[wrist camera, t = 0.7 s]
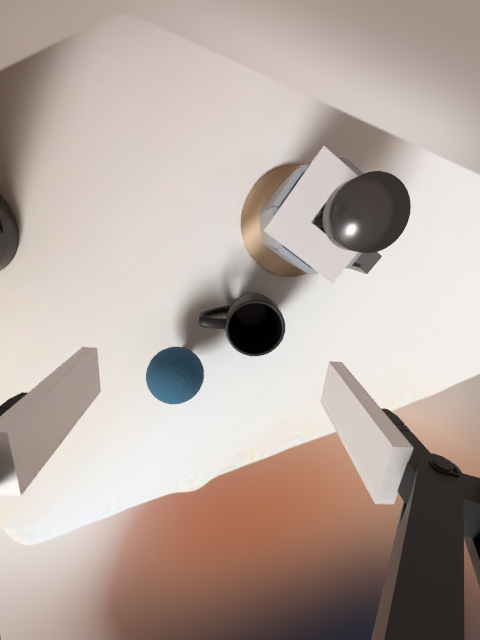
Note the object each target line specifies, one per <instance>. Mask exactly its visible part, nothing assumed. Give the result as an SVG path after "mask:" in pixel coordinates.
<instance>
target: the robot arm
mask: <svg viewBox="0 0 480 640" xmlns="http://www.w3.org/2000/svg"><path fill="white" fill-rule="evenodd" d="M17 244H18V231H17V226H16V222H15V219H14V216H13V214H12V212H11V210H10V208H9V206H8V205H7V203H6V202H5V200H4V199H3V198H2V196H1V195H0V271H1V270H2V269H4V268H5V267H6V266H7V265H8V264H9V263H10V262H11V260H12V259H13V257H14V255H15V252H16V249H17ZM99 393H100V379H99V366H98V354H97V348H88V347H82V348H81V349H80V350H79V351H77V352H76V353H75V354H74V355H73V356H72V357H70V358H69V359H68V360H67V361H66V362H64V363H63V364H62V365H61V366H60V367H58V368H57V369H56V370H55V371H54V372H53V373H51V374H50V375H49V376H48V377H47V378H45V379H44V380H43V381H42V382H41V383H39V384H38V385H37V386H36V387H35V388H34V389H32V390H31V391H30V392H29V393H21V394H18V395H16V396H14V397H12V398H10V399H8V400H7V401H6V402H5V403H3V404H2V405H1V406H0V495H10V496H21V495H22V494H23V492H24V491H25V490H26V488H27V487H28V486H29V485H30V483H31V482H32V481H33V479H34V478H35V477H36V475H37V474H38V473H39V471H40V470H41V469H42V467H43V466H44V465H45V464H46V462H47V461H48V460H49V458H50V457H51V456H52V454H53V453H54V452H55V450H56V449H57V448H58V447H59V445H60V444H61V443H62V441H63V440H64V439H65V437H66V436H67V435H68V433H69V432H70V431H71V429H72V428H73V427H74V426H75V424H76V423H77V422H78V420H79V419H80V418H81V416H82V415H83V414H84V412H85V411H86V410H87V408H88V407H89V406H90V405H91V403H92V402H93V401H94V399H95V398H96V397H97V395H98V394H99ZM321 403H322V405H323V407H324V409H325V411H326V413H327V415H328V417H329V418H330V420H331V422H332V424H333V426H334V428H335V430H336V432H337V433H338V435H339V437H340V439H341V441H342V443H343V445H344V447H345V448H346V450H347V452H348V454H349V456H350V458H351V459H352V462H353V463H354V465H355V467H356V469H357V471H358V473H359V475H360V477H361V478H362V480H363V482H364V484H365V486H366V488H367V490H368V492H369V493H370V495H371V497H372V499H373V501H374V503H375V504H394V502H395V499H396V496H397V494H398V493H399V494H400V496H401V497H402V499H403V501H404V504H403V506H402V509H401V512H400V515H399V518H398V520H397V523H398V527H397V531H396V536H395V540H394V544H393V549H392V553H391V557H390V562H389V566H388V570H387V575H386V579H385V583H384V588H383V592H382V596H381V600H380V605H379V609H378V614H377V618H376V623H375V627H374V631H373V635H372V639H371V640H464V539H465V542H466V545H467V548H468V552H469V554H470V558H471V561H472V564H473V567H474V570H475V573H476V577H477V580H478V583H479V586H480V478H478V477H473V476H470V475H467V474H463V473H462V472H461V471H460V470H459V468H458V467H457V466H456V465H455V464H453V463H452V462H450V461H449V460H447V459H445V458H444V457H442V456H439V455H436V454H431V453H430V452H429V451H428V450H427V449H426V448H425V446H424V445H423V444H422V443H421V442H420V441H419V440H418V439H417V438H416V436H415V435H414V434H413V433H412V432H410V430H409V429H408V428H407V426H405V425H404V423H403V422H402V421H401V420H400V419H399V417H398V416H396V415H395V414H394V413H392V412H391V411H389V410H388V409H381V408H380V407H379V406H378V405H377V404H376V402H375V401H374V400H373V399H372V398H371V396H370V395H369V394H368V393H367V392H366V390H365V389H364V388H363V387H362V386H361V385H360V383H359V382H358V381H357V380H356V379H355V377H354V376H353V375H352V374H351V373H350V371H349V370H348V369H347V368H346V367H345V366H344V364H343V363H342V362H329V365H328V369H327V374H326V379H325V384H324V389H323V394H322V398H321Z"/></svg>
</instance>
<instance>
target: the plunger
mask: <svg viewBox="0 0 480 640" xmlns="http://www.w3.org/2000/svg"><path fill="white" fill-rule="evenodd" d="M409 215H410V198H409V194H408V191H407V189H406V187H405V186H404V184H403V183H402V182H401V181H400V180H399V179H398V178H397V177H396V176H394V175H392V174H390V173H387V172H382V171H374V172H368V173H365V174H362V175H360V176H358V177H355V178H353V179H351V180H349V181H346V182H345V183H343V184H341V185H340V186H338V187H337V188H336V189H335V190H334V191H333V192H332V194H331V195H330V197H329V198H328V200H327V202H326V203H325V204H324V205H323V207H322V208H321V209H320V211H319V212H318V214H317V215H316V216H315V218H314V219H313V220H312V222H311V223H313V224H314V225H315V226H316V227H317V228H319V229H320V230H321V231H322V232H324V233H325V234H326V235H327V237H328V238H329V240H330V241H331V242H332V243H333V244H334V245H336V246H337V247H339V248H341V249H344V250H349V251H355V252H360V253H373V252H377V251H380V250H383V249H385V248H387V247H388V246H390V245H391V244H392V243H393V242H395V241H396V240H397V239H398V238H399V236H400V235H401V234H402V232H403V231H404V229H405V227H406V225H407V222H408V219H409Z"/></svg>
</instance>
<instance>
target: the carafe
mask: <svg viewBox="0 0 480 640" xmlns="http://www.w3.org/2000/svg"><path fill="white" fill-rule="evenodd" d="M362 174H363V173H362V172H361V171H359V170H358V169H357V168H356V167H355V166H354V165H353V164H352V163H351V162H349V161H348V160H347V159H344V158H340V159H339V158H337V157H336V156H335V155H334V154H333V153H332V152H331V151H330V150H328V149H327V148H326V147H325V146H323V147H322V148H321V149H320V151H319V152H318V153H317V155H316V156H315V158H314V159H313V160H312V162H311V163H310V164H307V165H301V166H300V167H298V168H297V169H296V170H295V171H294V172H293V173H292V174H291V175H290V176H289V177H288V178H287V179H286V180H285V181H284V182H283V183H282V184H281V185H280V186H279V187H278V188H277V189H276V190H275V192H274V193H273V195H272V196H271V197H270V199H269V200H268V202H267V203H266V205H265V206H264V208H263V209H262V210H261V212H260V213H259V214H260V215H259V219H260V230H261V234H262V241H263V243H264V245H265V246H267V247H268V248H269V249H271V250H272V251H273V252H275V253H276V254H277V255H279V256H280V257H281V258H283V259H284V260H286V261H287V262H289V263H291V264H292V265H294V266H296V267H298V268H299V269H301V270H303V271H304V272H306V273H308V274H315V273H320V274H321V275H322V276H323V277H325V278H326V279H327V280H329V281H330V282H332V283H333V282H334V281H335V280H336V279H337V277H338V276H339V275H340V274H341V272H342V271H343V270H344V269H345V268H350V269H353V270H356V271H359V272H362V273H365V274H368V272H369V271H370V270H371V269H372V268H373V266H374V265H375V264H376V263H377V262H378V260H379V259H380V258H381V257H382V256H381V255H380V254H379V253H378V252H373V253H360V252H355V251H349V250H344V249H341V248H339V247H337V246H336V245H334V244H333V243H332V242H331V241H330V240H329V238H328V237H327V235H326V234H325V233H324V232H322V231H321V230H320V229H319V228H317V227H316V226H315V225H314V224H313V223H311V222H312V220H313V219H314V218H315V216H316V215H317V214H318V212H319V211H320V209H321V208H322V207H323V205H324V204H325V203H326V202H327V200H328V198H329V197H330V195H331V194H332V192H333V191H334V190H335V189H336V188H337V187H338V186H340V185H341V184H343V183H345V182H346V181H349V180H351V179H353V178H355V177H358V176H360V175H362Z"/></svg>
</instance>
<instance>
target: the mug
mask: <svg viewBox="0 0 480 640" xmlns="http://www.w3.org/2000/svg"><path fill="white" fill-rule="evenodd" d="M221 315H227V317H226V319H217V318H214V317H217V316H221ZM198 323H199V325H200V326H203V327H207V328H216V329H225V331H226V336H227V339H228V341H229V343H230V344H231V345H232V347H233V348H235V349H236V350H237V351H238V352H240V353H242V354H245V355H249V356H260V355H265V354H267V353H269V352H271V351H272V350H274V349H275V348H276V347H277V346H278V345H279V344H280V342H281V341H282V339H283V336H284V333H285V322H284V318H283V316H282V314H281V312H280V310H279V308H278V307H277V306H276V304H275V303H274V302H273V301H271V300H270V299H269V298H267V297H265V296H263V295H260V294H252V293H251V294H246V295H244V296H241V297H240V298H238V299H237V300H236V301H235V302H234V303H233V304H232V305H231V306H224V307H219V308H215V309H211V310H208V311H205V312H203V313H201V314H200V316H199V322H198Z"/></svg>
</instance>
